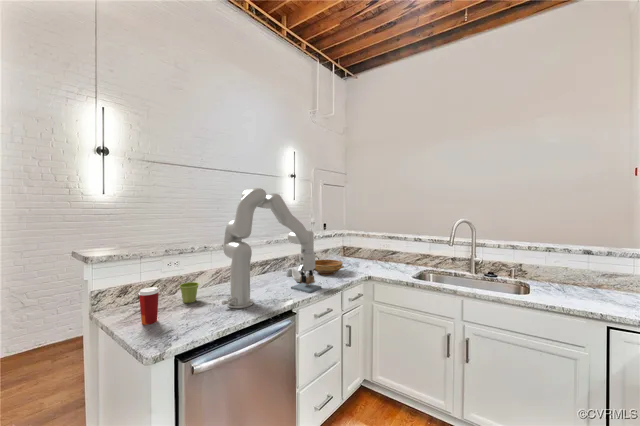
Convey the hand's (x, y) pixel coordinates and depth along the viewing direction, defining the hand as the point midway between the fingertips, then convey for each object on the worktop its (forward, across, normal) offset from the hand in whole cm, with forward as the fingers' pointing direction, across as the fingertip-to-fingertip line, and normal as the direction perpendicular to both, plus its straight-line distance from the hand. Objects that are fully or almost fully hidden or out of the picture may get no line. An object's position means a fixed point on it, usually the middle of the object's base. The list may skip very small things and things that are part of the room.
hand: (307, 280), depth 169 cm
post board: (+5, -1, 0) cm, 5 cm away
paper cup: (+5, -79, +22) cm, 82 cm away
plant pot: (+5, -55, +34) cm, 65 cm away
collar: (+1, 0, 0) cm, 1 cm away
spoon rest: (+5, +12, +18) cm, 22 cm away
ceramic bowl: (+5, +38, +13) cm, 41 cm away
